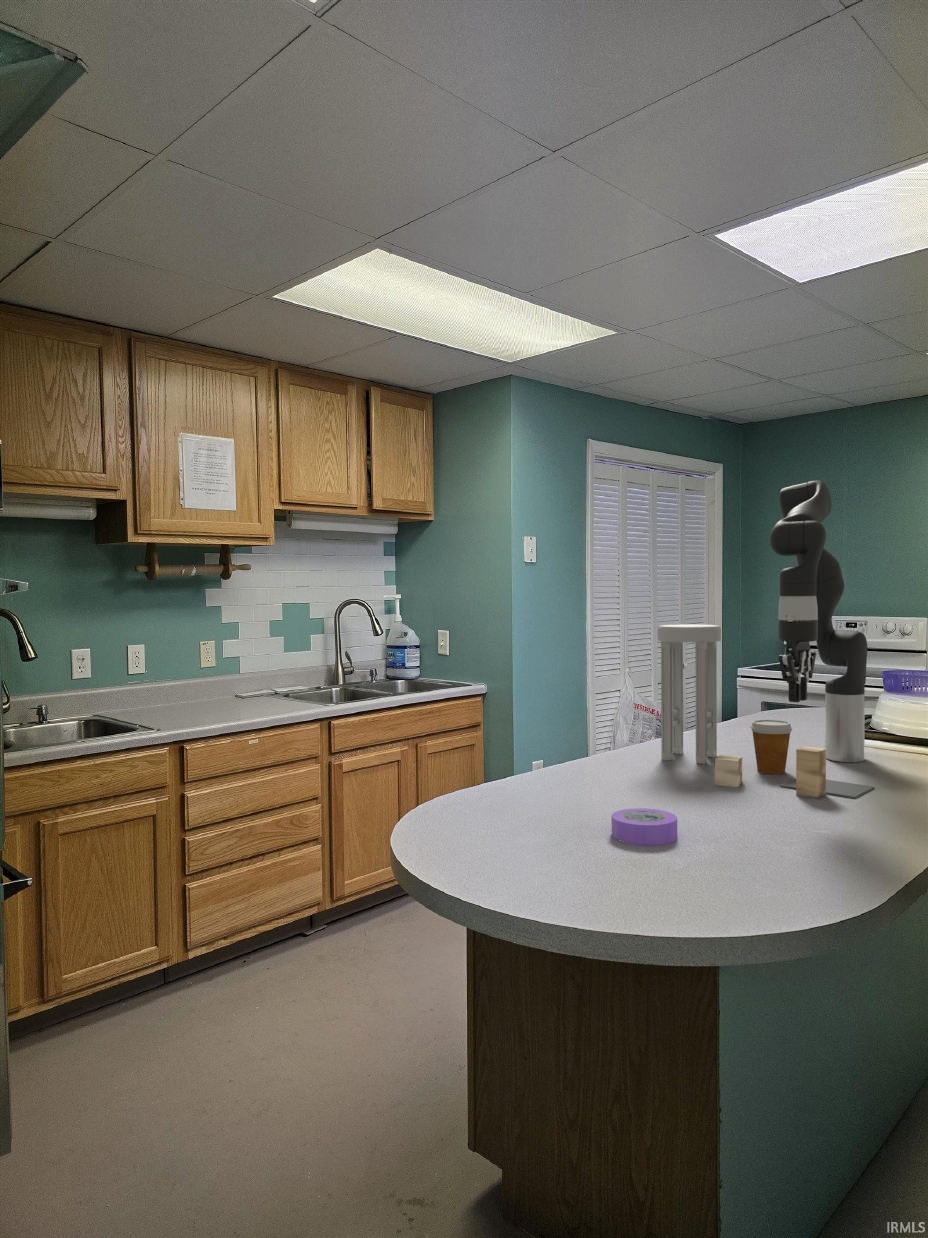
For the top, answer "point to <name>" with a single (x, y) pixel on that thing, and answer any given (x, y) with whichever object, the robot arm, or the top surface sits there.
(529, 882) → the top surface
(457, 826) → the top surface
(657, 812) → the masking tape
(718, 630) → the stool
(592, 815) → the top surface
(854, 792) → the mat
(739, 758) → the maple block
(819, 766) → the oak block
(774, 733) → the disposable coffee cup
